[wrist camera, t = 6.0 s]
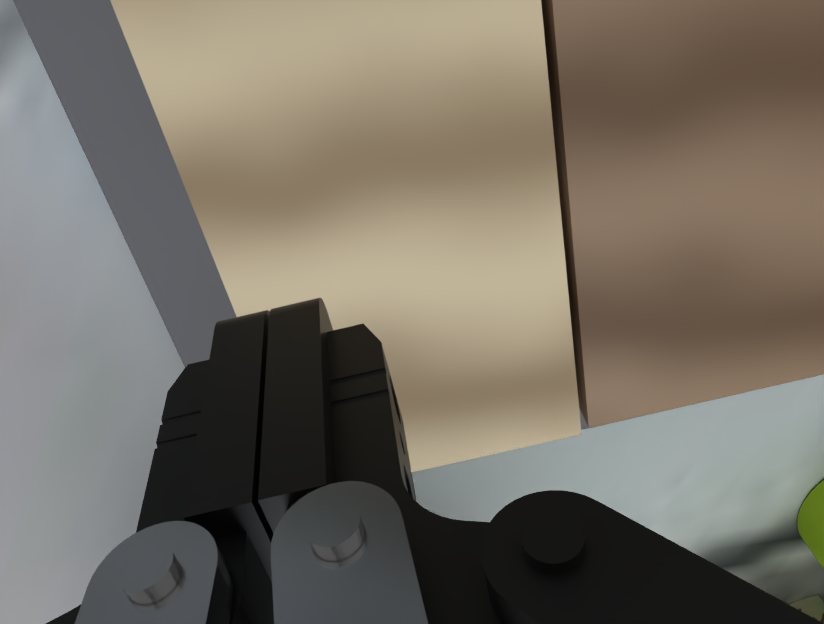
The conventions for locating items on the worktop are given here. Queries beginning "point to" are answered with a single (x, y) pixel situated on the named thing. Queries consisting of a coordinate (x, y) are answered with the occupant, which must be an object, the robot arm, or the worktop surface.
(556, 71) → the walnut plank
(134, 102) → the underlay mat
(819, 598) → the stack of blocks
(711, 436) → the worktop surface
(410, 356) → the oak plank
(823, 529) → the soap dispenser
